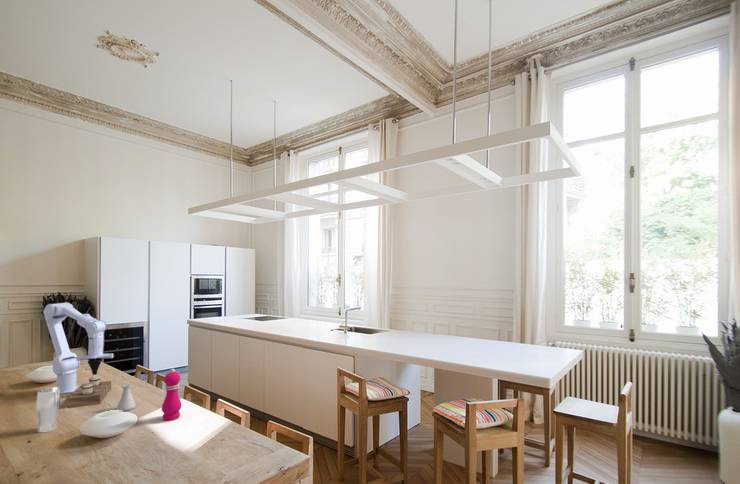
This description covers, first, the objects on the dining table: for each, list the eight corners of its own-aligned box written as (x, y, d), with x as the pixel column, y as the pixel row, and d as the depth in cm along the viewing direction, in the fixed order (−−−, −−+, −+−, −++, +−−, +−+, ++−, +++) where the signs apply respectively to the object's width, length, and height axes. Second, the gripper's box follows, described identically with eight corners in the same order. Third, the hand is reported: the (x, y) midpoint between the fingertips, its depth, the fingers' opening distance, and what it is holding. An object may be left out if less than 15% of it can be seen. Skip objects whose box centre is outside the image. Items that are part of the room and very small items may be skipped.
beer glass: (37, 435, 141) (39, 394, 142) (32, 430, 145) (34, 390, 146) (61, 428, 146) (62, 389, 147) (55, 423, 151) (57, 385, 151)
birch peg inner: (90, 385, 186) (90, 377, 186) (100, 384, 188) (101, 376, 188) (87, 388, 182) (87, 380, 182) (98, 386, 184) (98, 378, 184)
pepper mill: (172, 422, 152) (174, 371, 153) (157, 420, 154) (158, 370, 155) (185, 415, 159) (186, 366, 160) (170, 413, 161) (171, 366, 162)
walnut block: (82, 392, 187) (82, 384, 187) (111, 389, 192) (111, 381, 192) (67, 408, 167) (67, 398, 167) (99, 404, 172) (100, 395, 172)
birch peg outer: (82, 393, 175) (83, 384, 175) (94, 391, 177) (94, 383, 177) (80, 396, 171) (80, 387, 171) (91, 394, 173) (92, 386, 173)
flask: (139, 405, 170) (140, 383, 170) (127, 412, 162) (128, 388, 163) (124, 405, 170) (125, 382, 171) (112, 411, 163) (113, 388, 164)
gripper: (75, 349, 179) (73, 378, 179) (111, 346, 185) (110, 374, 184) (79, 346, 186) (78, 374, 185) (114, 343, 192) (113, 370, 191)
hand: (94, 374), depth 185 cm, fingers closed
